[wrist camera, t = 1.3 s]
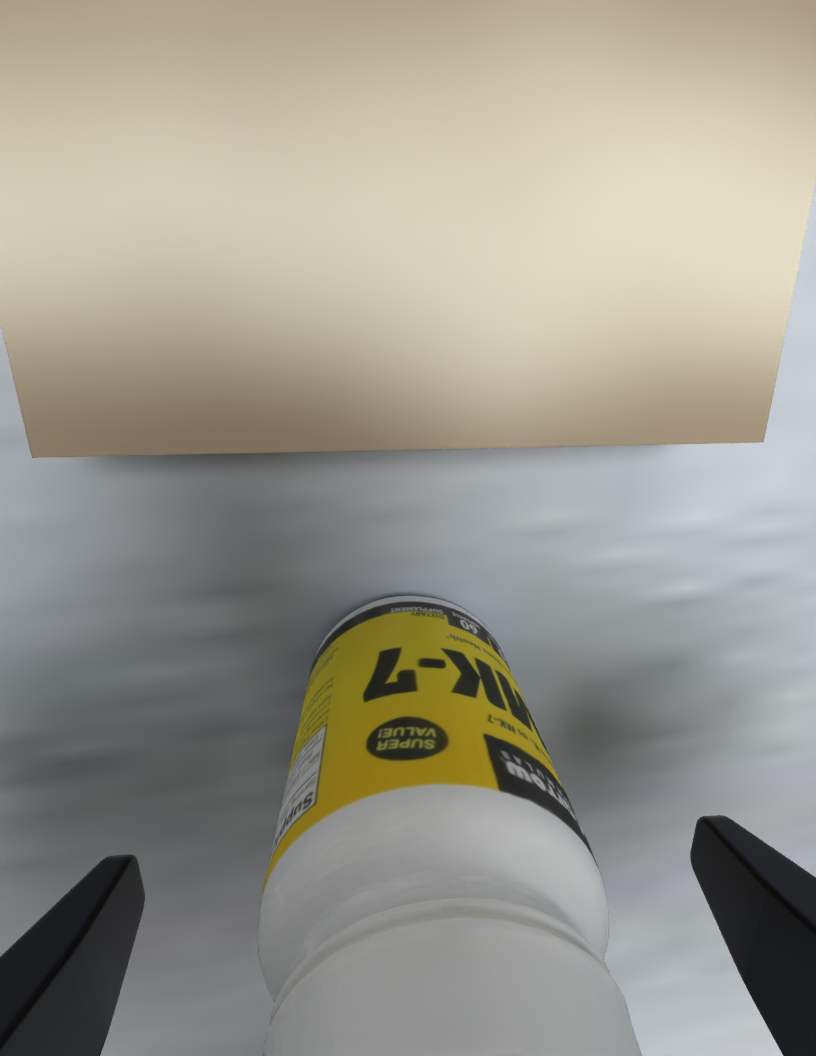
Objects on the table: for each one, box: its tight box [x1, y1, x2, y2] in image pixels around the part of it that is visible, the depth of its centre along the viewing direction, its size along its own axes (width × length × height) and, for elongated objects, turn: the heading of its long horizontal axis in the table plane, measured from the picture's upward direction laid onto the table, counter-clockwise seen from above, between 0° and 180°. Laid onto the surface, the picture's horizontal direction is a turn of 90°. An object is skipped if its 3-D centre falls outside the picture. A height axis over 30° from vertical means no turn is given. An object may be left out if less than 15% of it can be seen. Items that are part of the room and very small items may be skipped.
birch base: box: [0, 0, 816, 458], centre depth 8 cm, size 12×12×2 cm
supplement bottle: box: [258, 596, 642, 1056], centre depth 9 cm, size 5×5×8 cm
